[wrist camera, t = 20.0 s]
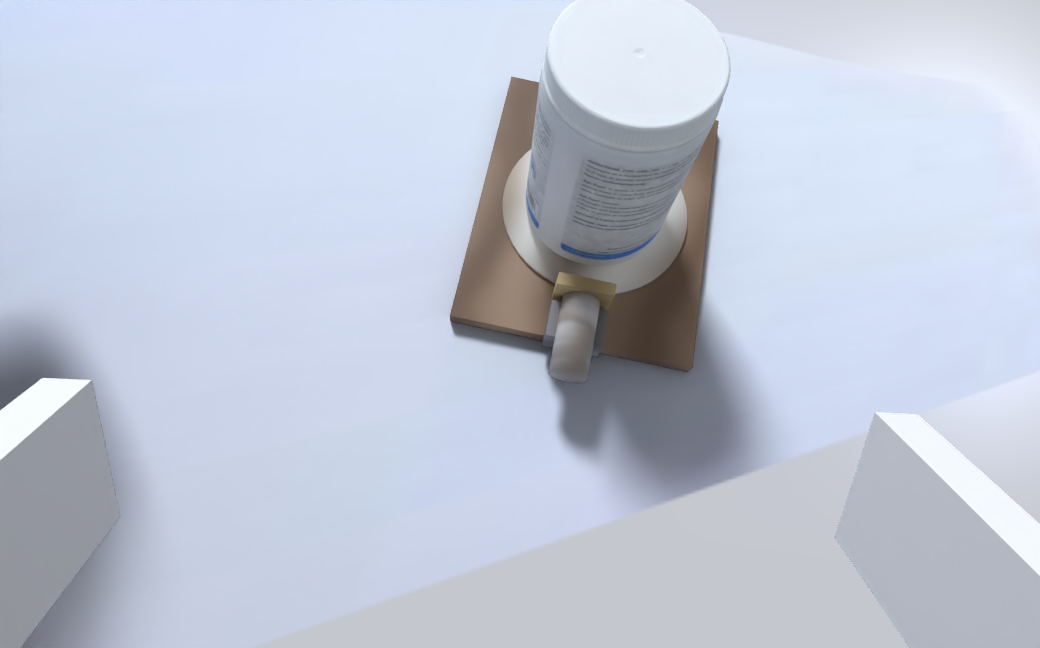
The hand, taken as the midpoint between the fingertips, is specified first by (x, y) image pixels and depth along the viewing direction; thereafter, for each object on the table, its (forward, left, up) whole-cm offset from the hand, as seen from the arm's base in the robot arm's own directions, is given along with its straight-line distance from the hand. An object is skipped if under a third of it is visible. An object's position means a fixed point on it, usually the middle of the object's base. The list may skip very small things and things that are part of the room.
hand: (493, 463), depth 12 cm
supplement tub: (+3, +24, -29) cm, 37 cm away
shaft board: (+3, +24, -30) cm, 38 cm away
